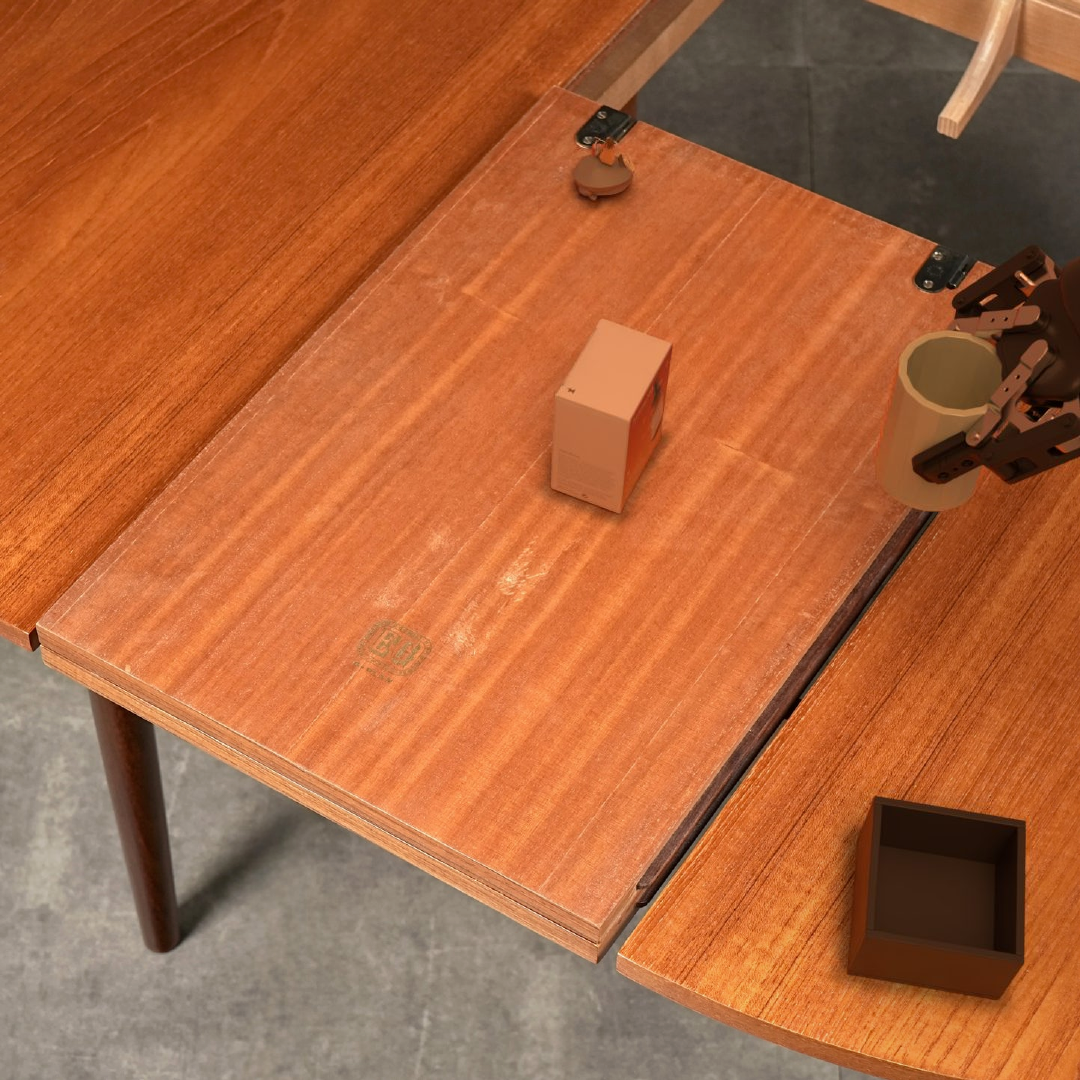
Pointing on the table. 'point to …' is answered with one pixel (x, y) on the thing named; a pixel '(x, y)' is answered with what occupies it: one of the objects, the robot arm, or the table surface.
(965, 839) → the basket
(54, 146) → the table surface
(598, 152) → the figurine
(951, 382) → the tumbler
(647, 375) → the small box
